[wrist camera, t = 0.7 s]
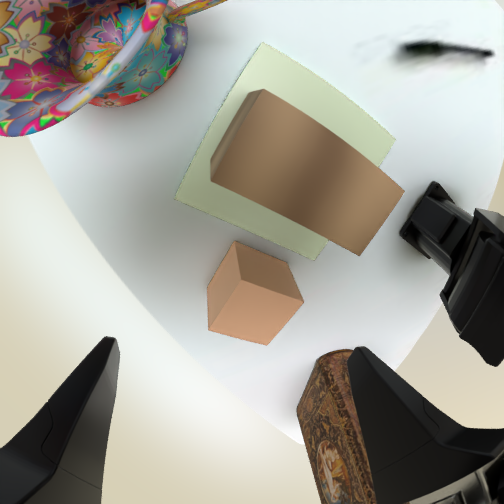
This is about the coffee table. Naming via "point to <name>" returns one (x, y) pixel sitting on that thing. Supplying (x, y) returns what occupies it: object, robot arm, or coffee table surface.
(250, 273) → the cube
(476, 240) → the robot arm
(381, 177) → the walnut brick
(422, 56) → the coffee table surface
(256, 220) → the baseplate
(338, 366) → the book
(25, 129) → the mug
